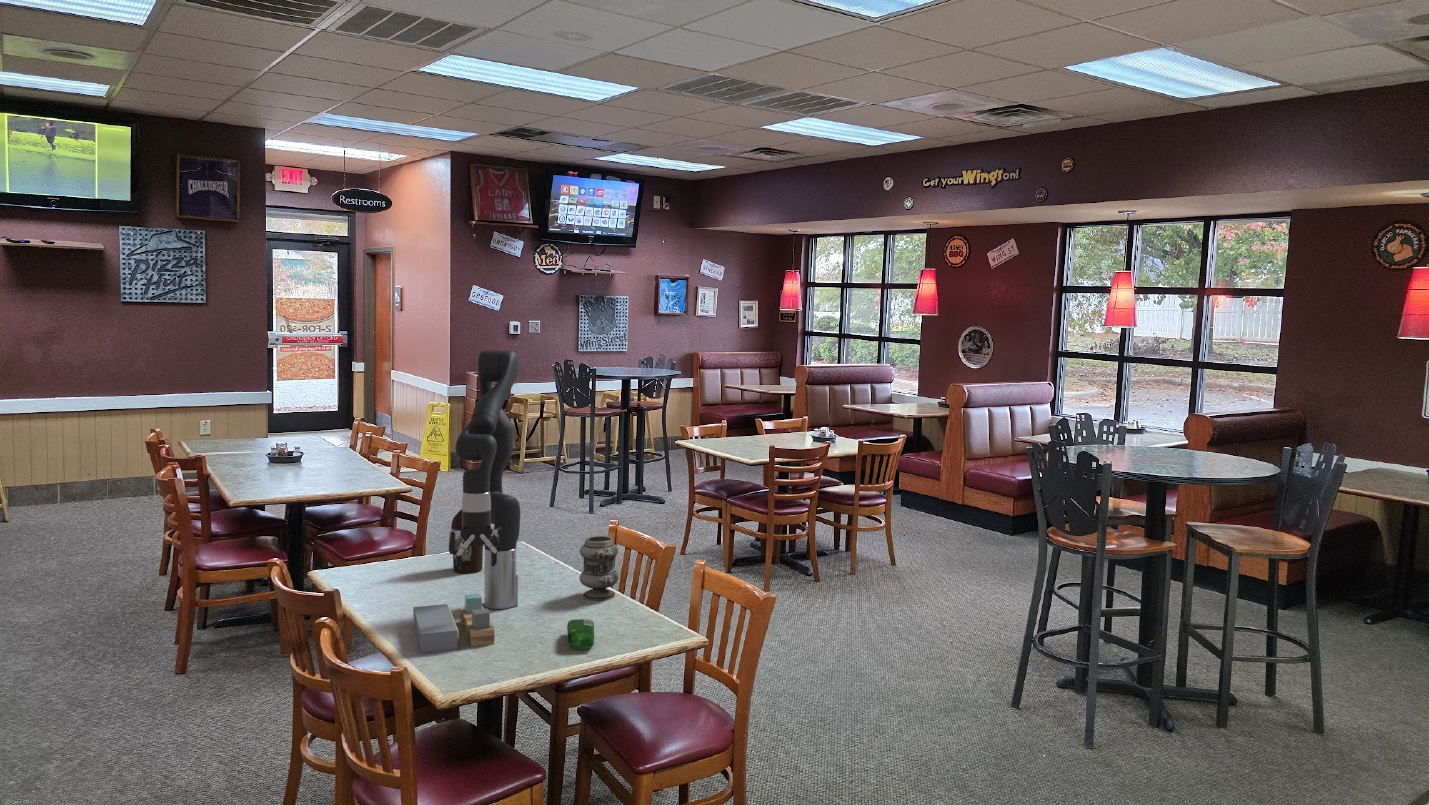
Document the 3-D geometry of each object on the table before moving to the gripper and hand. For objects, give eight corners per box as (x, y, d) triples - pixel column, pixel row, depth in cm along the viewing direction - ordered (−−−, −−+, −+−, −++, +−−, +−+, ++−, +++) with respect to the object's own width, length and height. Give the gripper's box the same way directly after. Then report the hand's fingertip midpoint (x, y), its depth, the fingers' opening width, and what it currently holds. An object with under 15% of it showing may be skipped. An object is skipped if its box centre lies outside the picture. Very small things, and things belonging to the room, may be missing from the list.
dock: (448, 621, 267) (448, 604, 266) (458, 649, 246) (458, 630, 245) (413, 624, 263) (413, 607, 263) (421, 653, 242) (421, 634, 242)
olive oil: (462, 564, 326) (462, 492, 323) (490, 567, 323) (490, 494, 320) (445, 572, 315) (444, 497, 313) (473, 575, 313) (473, 500, 310)
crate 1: (479, 607, 267) (479, 593, 267) (481, 611, 264) (481, 597, 263) (464, 608, 266) (464, 594, 265) (466, 613, 262) (466, 599, 262)
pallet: (460, 621, 267) (460, 607, 267) (482, 619, 270) (482, 605, 269) (470, 646, 248) (470, 631, 248) (494, 644, 250) (494, 629, 250)
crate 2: (487, 623, 254) (487, 608, 254) (489, 627, 251) (489, 613, 250) (471, 624, 253) (471, 609, 253) (474, 629, 249) (474, 614, 249)
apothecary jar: (593, 587, 302) (594, 531, 300) (626, 593, 297) (626, 536, 295) (571, 597, 291) (571, 539, 290) (604, 604, 286) (604, 545, 284)
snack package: (593, 632, 261) (593, 614, 261) (594, 652, 246) (594, 633, 245) (567, 633, 260) (567, 614, 260) (566, 653, 245) (566, 634, 244)
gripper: (501, 504, 262) (500, 562, 263) (447, 506, 256) (447, 566, 258) (505, 509, 255) (505, 569, 256) (450, 512, 249) (450, 573, 251)
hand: (476, 567), depth 257 cm, fingers open, 8 cm apart
